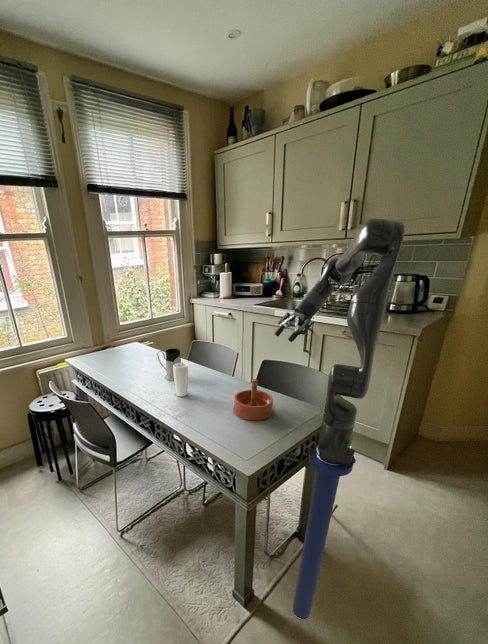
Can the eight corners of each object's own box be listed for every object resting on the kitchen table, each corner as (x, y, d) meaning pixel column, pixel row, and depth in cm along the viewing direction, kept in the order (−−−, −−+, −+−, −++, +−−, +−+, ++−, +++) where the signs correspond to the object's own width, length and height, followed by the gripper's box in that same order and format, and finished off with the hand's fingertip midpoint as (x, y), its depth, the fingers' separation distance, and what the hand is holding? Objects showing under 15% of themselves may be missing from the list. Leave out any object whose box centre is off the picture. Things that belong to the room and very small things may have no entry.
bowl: (277, 409, 134) (279, 395, 132) (261, 425, 124) (262, 411, 121) (245, 399, 143) (246, 386, 141) (227, 413, 133) (227, 400, 130)
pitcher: (176, 381, 164) (175, 354, 157) (154, 377, 170) (152, 350, 164) (185, 375, 170) (184, 349, 164) (163, 371, 177) (161, 345, 171)
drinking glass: (175, 391, 154) (174, 362, 147) (189, 391, 153) (188, 362, 146) (173, 397, 148) (171, 367, 141) (187, 398, 147) (186, 368, 140)
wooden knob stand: (261, 409, 134) (263, 379, 128) (255, 414, 130) (257, 383, 124) (250, 406, 137) (252, 376, 131) (244, 411, 133) (245, 380, 127)
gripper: (327, 315, 119) (299, 348, 120) (302, 308, 131) (276, 338, 132) (318, 302, 115) (289, 336, 116) (293, 296, 127) (266, 327, 128)
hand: (282, 337), depth 124 cm, fingers open, 8 cm apart
